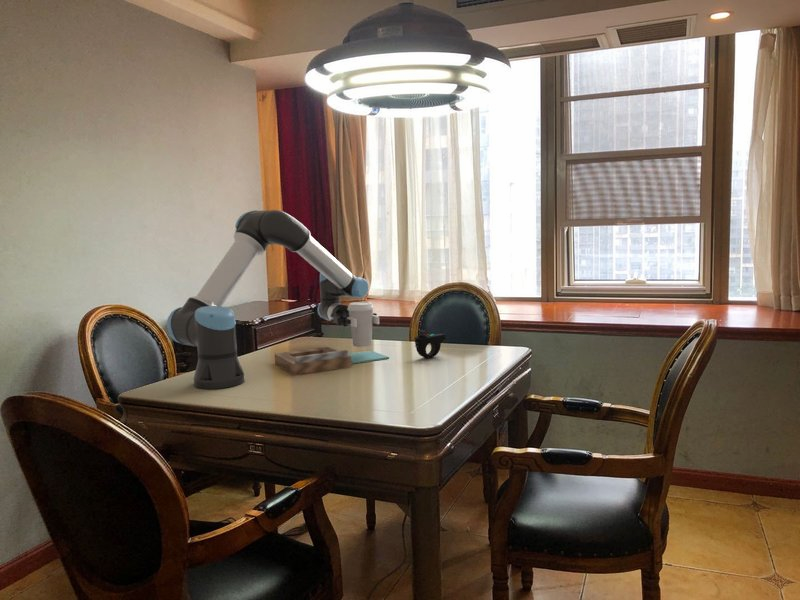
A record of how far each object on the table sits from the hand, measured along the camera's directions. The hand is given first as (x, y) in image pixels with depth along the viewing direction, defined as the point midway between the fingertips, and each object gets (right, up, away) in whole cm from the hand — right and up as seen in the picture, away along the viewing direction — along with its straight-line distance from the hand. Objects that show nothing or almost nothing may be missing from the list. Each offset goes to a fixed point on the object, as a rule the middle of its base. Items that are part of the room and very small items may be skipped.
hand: (367, 321), depth 222 cm
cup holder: (-19, -15, -3) cm, 24 cm away
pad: (-2, -13, +6) cm, 14 cm away
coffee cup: (-2, -9, +5) cm, 10 cm away
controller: (+22, -13, +3) cm, 26 cm away
